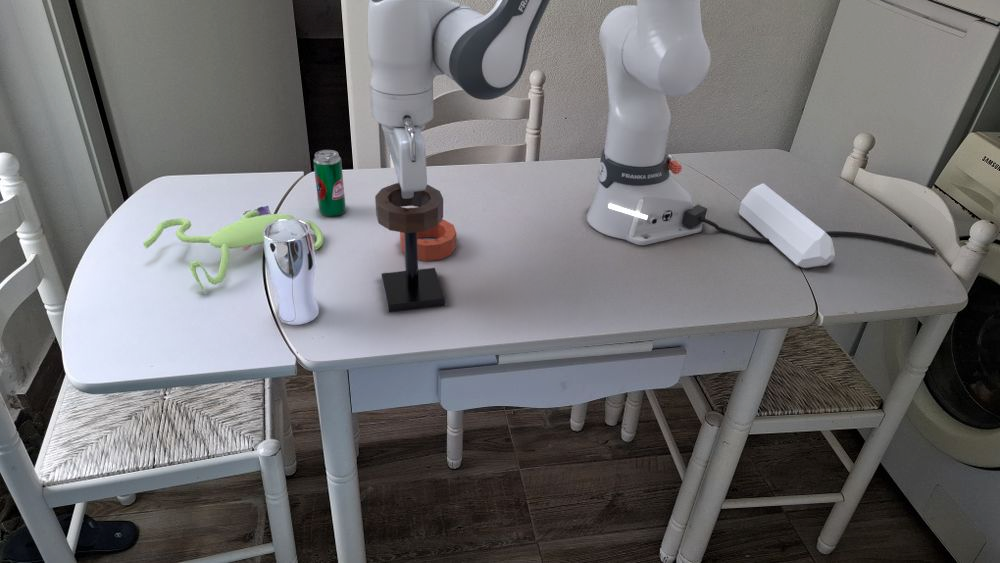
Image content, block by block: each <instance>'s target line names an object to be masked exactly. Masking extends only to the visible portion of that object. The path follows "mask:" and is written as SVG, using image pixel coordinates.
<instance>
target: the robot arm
mask: <svg viewBox="0 0 1000 563" xmlns="http://www.w3.org/2000/svg"><path fill="white" fill-rule="evenodd" d="M550 1H551V0H497V1H496V2H495V4H494V6H493V7H492V9H491V10H490V11H489V12H488V13H486V14H483V13H481V12H480V11H478V10H477V9H474V8H472V7H470V6H468V5H466V4H464V3H461V2H457V1H453V0H368V6H367V7H368V8H367V18H366V19H367V20H366V37H367V40H366V41H367V55H368V58H369V61H370V66H371V74H370V79H369V89H370V90H369V91H370V106H371V107H370V108H371V117H372V119H373V121H375V122H377V123H378V124H380V125H381V126H380V127H381V129H382V131H383V135H384V139H385V142H386V145H387V148H388V152H389V154H390V158H391V161H392V165H393V167H394V170H395V174H396V177H397V183H399V184H400V187H401V195H402V198H404V199H408V198H412V197H413V196H414V192H416V191H424V190H425V189H426V186H427V185H428V171H427V154H426V144H425V139H424V136H423V134H422V132H423V131H424V130H425V128H426V124H427V123H429V122H431V120H433V118H434V80H435V78H436V77H437V76H444V75H445V76H446V77H447V78H449V79H451V81H454V82H455V83H456V84H457V85H458V86H459V87H460V88H461V89H462V90H463V91H464V92H465V93H466V94H467V95H469V96H471V97H472V98H474V99H477V100H482V101H489V100H490V101H491V100H494V99H497V98H499V97H502V96H504V95H506V94H507V93H508V92H510V91H511V90H512V89H513V88H515V86H516V85H517V83H518V82H519V81H520V79H521V77H522V75H523V73H524V71H525V69H526V65H527V61H528V57H529V53H530V49H531V45H532V42H533V39H534V36H535V33H536V31H537V29H538V27H539V24H540V22H541V20H542V18H543V16H544V13H545V12H546V10H547V7H548V6H549V3H550ZM598 36H599V37H598V39H599V45H600V48H601V50H602V53H603V55H604V56H603V57H604V61H605V69H606V70H605V71H606V80H607V82H606V83H607V94H608V95H607V96H608V118H607V126H606V127H607V128H606V134H605V143H604V147H603V149H602V150H601V155H600V161H599V165H598V176H597V178H598V181H597V182H598V183H597V186H596V189H595V194H594V197H593V200H592V203H591V205H590V207H589V209H588V212H587V214H586V221H587V223H588V224H589V226H590V227H592V228H593V229H594V230H595V231H597V232H599V233H601V234H603V235H605V236H608V237H611V238H616V239H620V240H624V241H627V242H629V243H631V244H634V245H637V246H647V245H651V244H656V243H660V242H665V241H668V240H672V239H676V238H681V237H686V236H690V235H694V234H699V233H701V232H702V231H703V223H705V224H707V225H709V226H711V227H713V228H714V229H716V231H718V232H721V233H724V234H726V235H731V236H734V237H737V238H740V239H742V240H746V241H753V242H759V243H771V242H770V241H769V239H768V238H766V237H757V236H750V235H747V234H746V235H745V234H741V233H738V232H735V231H732V230H729V229H726V228H724V227H721V226H719V225H718V224H717V223H715V222H714V221H711V220H710V219H707V217H706V216H707V212H708V208H707V207H705V206H702V205H700V204H699V203H697V204H695V205H694V200H693V196H692V195H691V193H690V192H689V190H688V188H686V187H685V186H684V185H683V184H682V183H681V182H680V181H679V180H678V179H677V178H676V177H675V176H673V175H678V174H680V173H681V172H682V170H683V166H682V164H680V163H679V162H678V161H677V160H672V158H671V157H670V156H669V155H667V154H666V151H667V145H668V139H669V134H670V129H671V123H672V115H671V111H670V107H669V105H668V102H667V97H666V96H671V97H684V96H687V95H689V94H691V93H692V92H694V91H696V90H697V89H698V88H699V87H700V86H701V85H702V84H703V82H704V81H705V79H706V78H707V76H708V74H709V71H710V67H711V63H712V62H711V61H712V58H711V56H712V55H711V51H710V49H709V46H708V44H707V41H706V39H705V35H704V31H703V23H702V13H701V0H636V4H633V5H632V4H625V5H621V6H618V7H616V8H614V9H612V10H611V11H610V12H609V13H608V14H607V15H606V16H605V18H604V20H603V21H602V22H601V26H600V29H599V35H598ZM670 172H671V173H672V174H673V175H672V174H671V173H670ZM825 232H826V233H827V234H828V235H829V236H849V237H850V236H851V237H860V238H867V239H875V240H879V241H883V242H890V243H894V244H897V245H901V246H905V247H909V248H912V249H916V250H918V251H919V250H920V251H923V252H925V253H926V252H927V253H929V254H934V255H936V253H937V250H936V249H934V248H929V247H926V246H922V245H919V244H915V243H912V242H909V241H905V240H901V239H897V238H894V237H893V238H892V237H889V236H883V235H878V234H872V233H866V232H856V231H843V230H842V231H841V230H839V231H838V230H831V231H825Z"/></svg>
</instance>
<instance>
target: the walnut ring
mask: <svg viewBox="0 0 1000 563" xmlns="http://www.w3.org/2000/svg"><path fill="white" fill-rule="evenodd" d="M374 198H375V202H374V203H375V215H376V219H377V223H378V224H379V225H380V226H382V227H383V228H385V229H387V230H389V231H391V232H398V233H400V232H402V233H414V232H424V231H427V230H429V229H431V228H433V227H436V226H438V224H439V223H440V221H441V220H442V219H444V197H443V195H442V193H441V191H440V190H439V189H437V188H435V187H434V186H431V185H429V184H427V186H426V189H425V190H424V191H416V192H414V196H413V197H412V198H408V199H404V198H402V195H401V187H400V184H399V183H398V182H395V183H393V184H390V185H387V186H385V187H382V188H381V189H380V190H379V191H378V192H377V193H376V195H375V196H374Z"/></svg>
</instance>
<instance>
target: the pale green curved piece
mask: <svg viewBox="0 0 1000 563" xmlns="http://www.w3.org/2000/svg"><path fill="white" fill-rule="evenodd" d="M281 219H297V218H296V217H295V216H293V215H291V214H284V213H271V211H270V207H269V205H265V206H260V207H257V208H256V209H253V210H245V211H244V212H243V215H242V216H241V218H240V220H237V221H235V222H232V223H230V224H228V225H225V226H223V227H222V228H220V229H219V230H217V231H216V232H214V233H213V234H212V235H186V234H185V232H186V231H188V230H189V229H190V228H191V227H192V222H191V221H190V220H189V219H186V218H173V219H168V220H164V221H162V222H160V223H158V225H157V226H156V228H155V230H154V231H153V233H152V234H151V235H150V236H149V237H148V238H147V239H146V240H145V241H143V243H142V244H143V247H144V248H145V249H148V248H150V247H151V246H152V245H153V244H154V243H155V242H156V241H157V240H158V239H159V237H160V236H161V235H162V233H163V231H164V230H165V229H168V228H171V227H175V226H179V227H178V228H177V230H176V232H175V236H176V237H177V239H178V240H180V242H182V243H189V244H210V245H211V246H212V247H214V248H215V249H220V251H221V258H220V264H219V269H218V273H217V275H216V276H214V277H212V276H211V275H210V274H209V273H208V271H207V270H206V268H205V267H204V266H203V264H202V263H201V262H200V261H198V260H193V261H190V262H189V269H190V272H191V274H192V276H193V278H194V280H195V281H196V283H197V284H198V285H199V287H200V289H201V291H202V293H203V294H204V295H206V291H205V288H204V286H203V284H202V283H201V280H200V278H199V275H198V273H197V268H199V267H200V268H201V269H202V270H203V272H204V274H205V277H206V279H207V281H208V282H209V283H210V284H212V285H214V286H216V285H218V284H220V283H222V282H223V281H224V279H225V277H226V275H227V274H226V273H227V270H228V265H229V261H230V249H242V250H243V251H248V250H249V249H250V248H251V247H252V246H257V245H261V244H264V242H263V233H262V232H263V229H264V227H265V226H266V225H268V224H269V223H271V222H274V221H277V220H281ZM304 221H305V222H306V223H308V224H309V226H310V230H312V231H313V232H314V234H315V235H314V236H315V239H316V242H315V243H313V245H314V251H317V250H318V249H320V248H321V247H322V245H323V244H324V236H323V233H322V230H321V229H320V227H319V226H318V225H317V224H316V223H315V222H313V221H311V220H304Z"/></svg>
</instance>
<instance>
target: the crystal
mask: <svg viewBox="0 0 1000 563" xmlns="http://www.w3.org/2000/svg"><path fill="white" fill-rule="evenodd" d="M738 214H739V215H740V216H741V217H742V218H743V219H745V220H746V221H747V223H749V224H750V225H751V226H752V227H753V228H755V229H756V230H757V231H758V232H759V233H760V234H761V235H762V236H763V237H764V238H768V239H769V241H770V242H769V243H771V244H772V245H773V246H774V247H776V249H778V250H779V251H780V252H781V253H782V254H783V255H785V256H786V257H787V258H788V259H789V260H790V261H791V262H793V263H794V264H795V265H796V266H798V267H800V268H803V269H808V268H816V267H823V266H825V267H826V266H827V265H829V264H830V263H831V262H832V261H833V260H834V258H835V257H836V254H835V252H836V251H835V247H834V243H833V238H832V237H831V235H828V234H827V233H826V232H827V231H825V230H824V229H822V228H821V227H820V226H819V225H817V224H816V223H815V222H813V221H812V220H811V219H810V218H808V217H807V216H806V215H804V214H803V213H802V212H800V211H799V210H798V209H797V208H796V207H794V206H793V205H792V204H790V203H789V202H788V201H787V200H785V199H784V198H783V197H782V196H780V194H778V193H777V192H775V191H774V190H773V189H772V188H770V187H769V186H768V185H766V184H765V183H764V182H763V183H760V184H758V185H756V186H754V187H752V188H751V189H750V190H749V191H748V193H746V195H745V196H744V198H743V199H742V200H741V201H740V207H739V209H738Z"/></svg>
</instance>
